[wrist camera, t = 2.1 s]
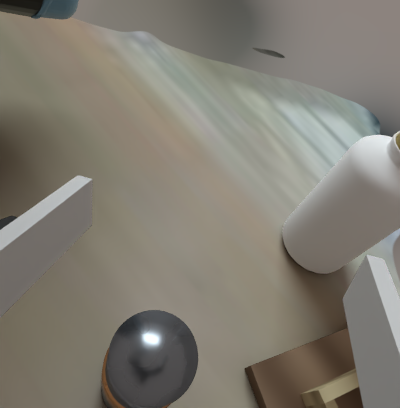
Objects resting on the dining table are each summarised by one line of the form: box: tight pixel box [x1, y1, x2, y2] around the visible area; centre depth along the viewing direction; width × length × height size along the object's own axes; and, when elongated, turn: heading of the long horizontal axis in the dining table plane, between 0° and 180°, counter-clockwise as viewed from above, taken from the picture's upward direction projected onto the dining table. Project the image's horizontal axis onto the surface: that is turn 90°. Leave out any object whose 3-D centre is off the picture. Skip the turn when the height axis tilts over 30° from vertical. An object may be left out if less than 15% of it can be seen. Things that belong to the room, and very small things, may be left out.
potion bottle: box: [282, 131, 400, 274], centre depth 34 cm, size 8×8×18 cm
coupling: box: [102, 310, 198, 408], centre depth 23 cm, size 5×5×12 cm
